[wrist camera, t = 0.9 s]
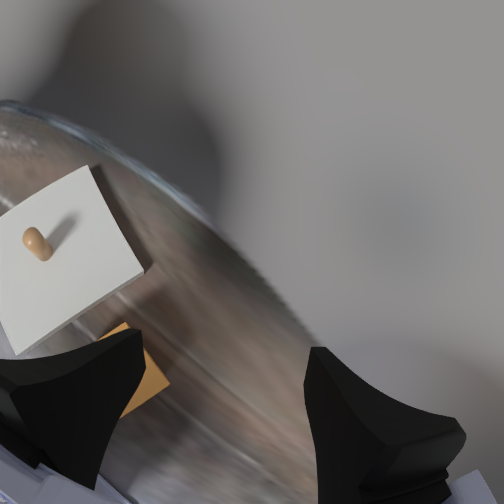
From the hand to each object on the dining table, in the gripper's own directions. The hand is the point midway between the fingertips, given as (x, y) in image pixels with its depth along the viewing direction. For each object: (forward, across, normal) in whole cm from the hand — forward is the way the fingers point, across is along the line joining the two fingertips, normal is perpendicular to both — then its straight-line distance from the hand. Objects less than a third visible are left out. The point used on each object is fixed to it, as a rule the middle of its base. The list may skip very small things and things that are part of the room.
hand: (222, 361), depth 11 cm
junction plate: (+8, +17, -1) cm, 19 cm away
